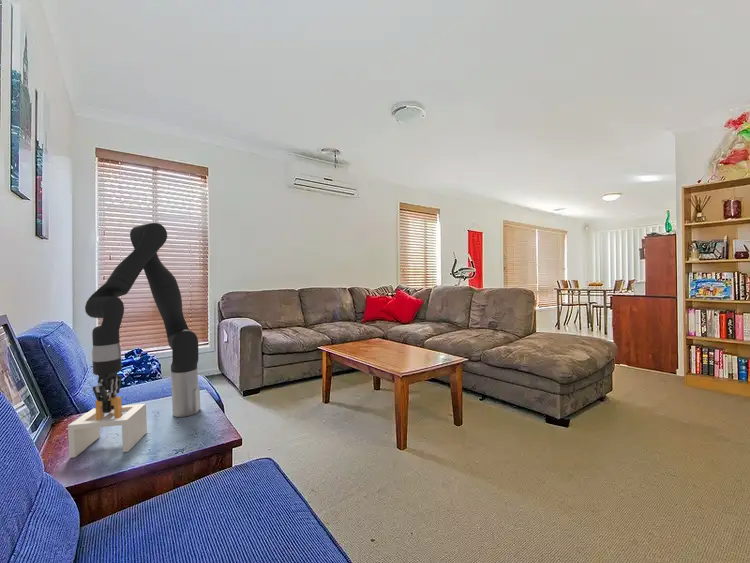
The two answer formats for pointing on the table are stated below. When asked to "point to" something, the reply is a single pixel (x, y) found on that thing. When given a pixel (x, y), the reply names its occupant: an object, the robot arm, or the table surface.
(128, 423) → the open-topped stand
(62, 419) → the table surface
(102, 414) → the orange u-shaped bracket
